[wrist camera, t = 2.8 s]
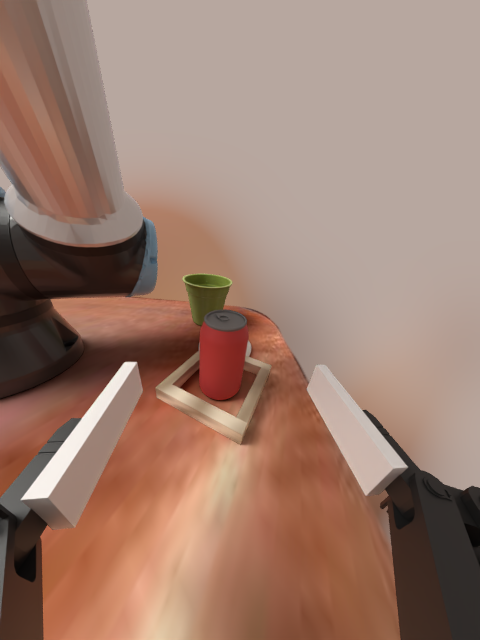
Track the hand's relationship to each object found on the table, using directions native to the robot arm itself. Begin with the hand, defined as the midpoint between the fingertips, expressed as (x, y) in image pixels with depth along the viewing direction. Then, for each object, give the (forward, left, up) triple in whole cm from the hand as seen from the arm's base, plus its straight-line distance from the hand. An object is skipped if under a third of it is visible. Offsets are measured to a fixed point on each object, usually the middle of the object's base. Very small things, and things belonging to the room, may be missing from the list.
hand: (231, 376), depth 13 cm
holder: (-5, +9, -12) cm, 16 cm away
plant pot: (-19, +26, -12) cm, 34 cm away
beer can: (-5, +9, -12) cm, 16 cm away
